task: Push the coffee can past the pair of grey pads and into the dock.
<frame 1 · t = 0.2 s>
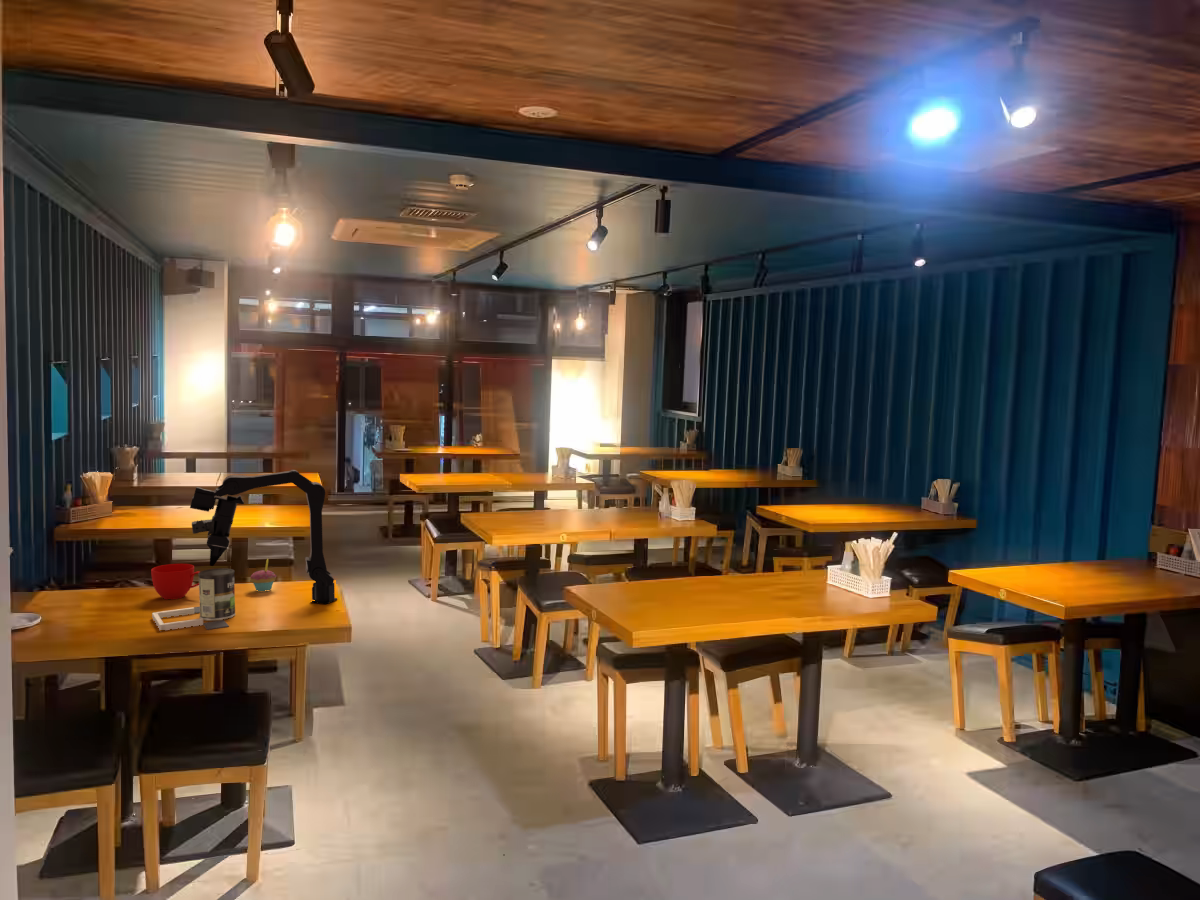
hand: (211, 562, 274), 16 cm above the table, tool pointing down, fingers open, 9 cm apart
coffee can: (217, 616, 270), on the table
cupcake: (263, 591, 302), on the table
dock: (185, 620, 265), on the table
ceramic cup: (179, 597, 292), on the table
pair of grey pads: (208, 617, 269), on the table
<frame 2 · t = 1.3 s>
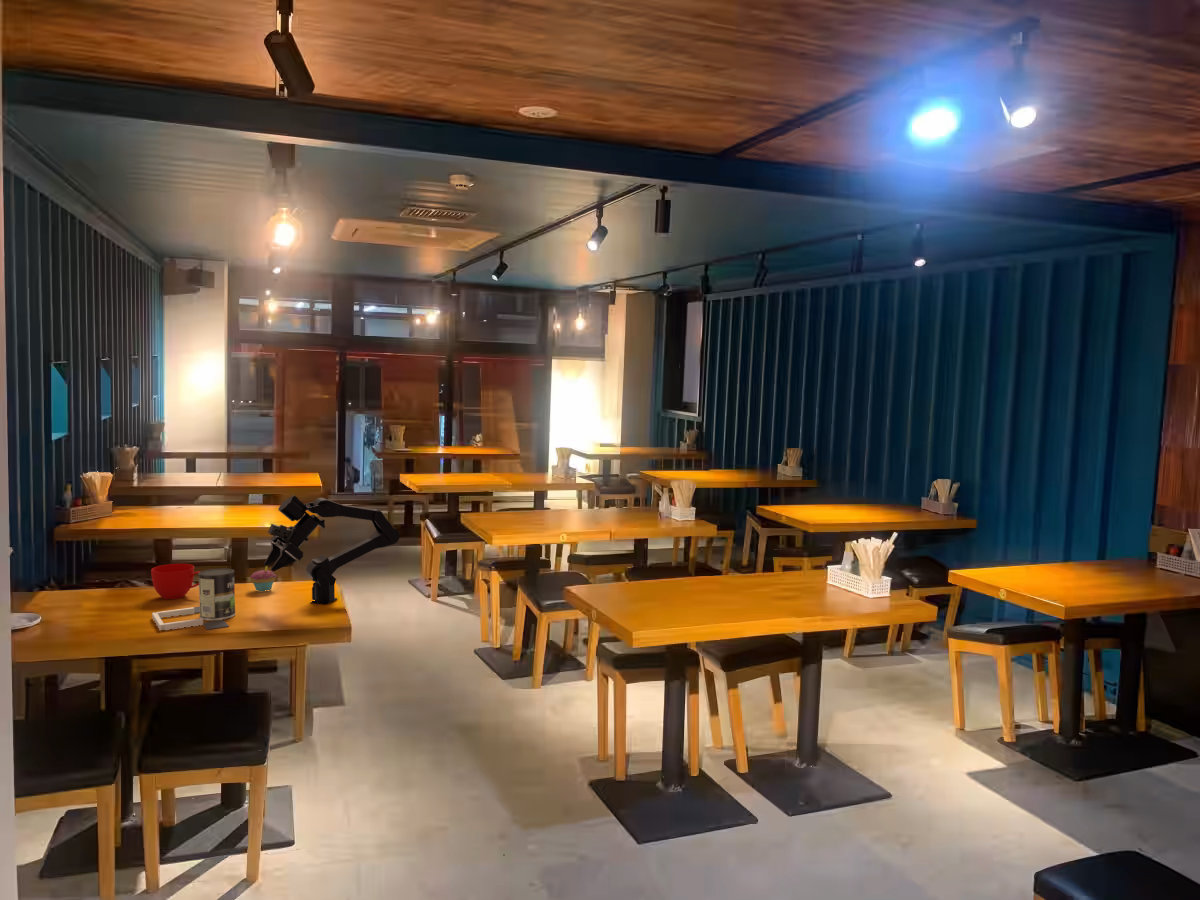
hand: (268, 568, 278), 13 cm above the table, tool tilted 45°, fingers open, 8 cm apart
nothing on the table moved.
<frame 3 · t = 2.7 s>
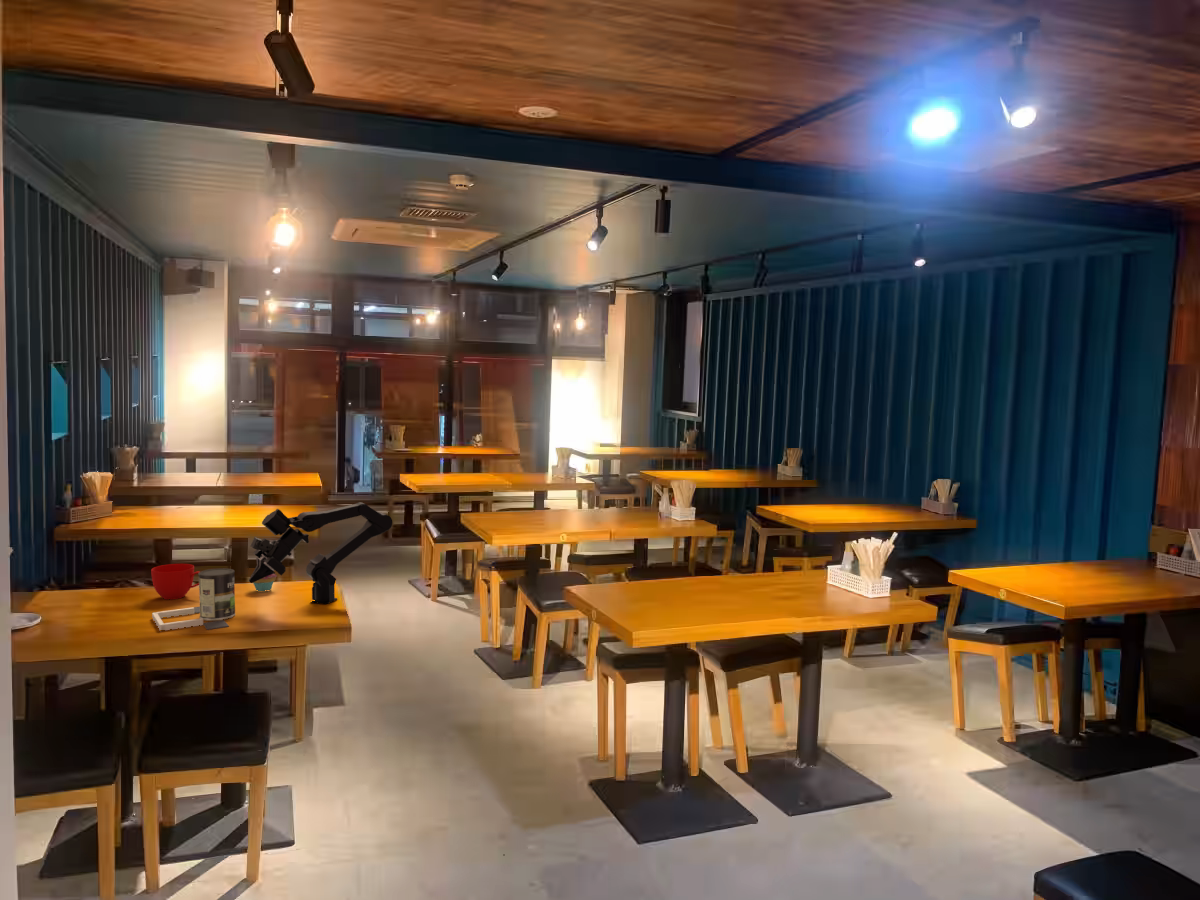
hand: (249, 581, 275), 10 cm above the table, tool tilted 45°, fingers closed
nothing on the table moved.
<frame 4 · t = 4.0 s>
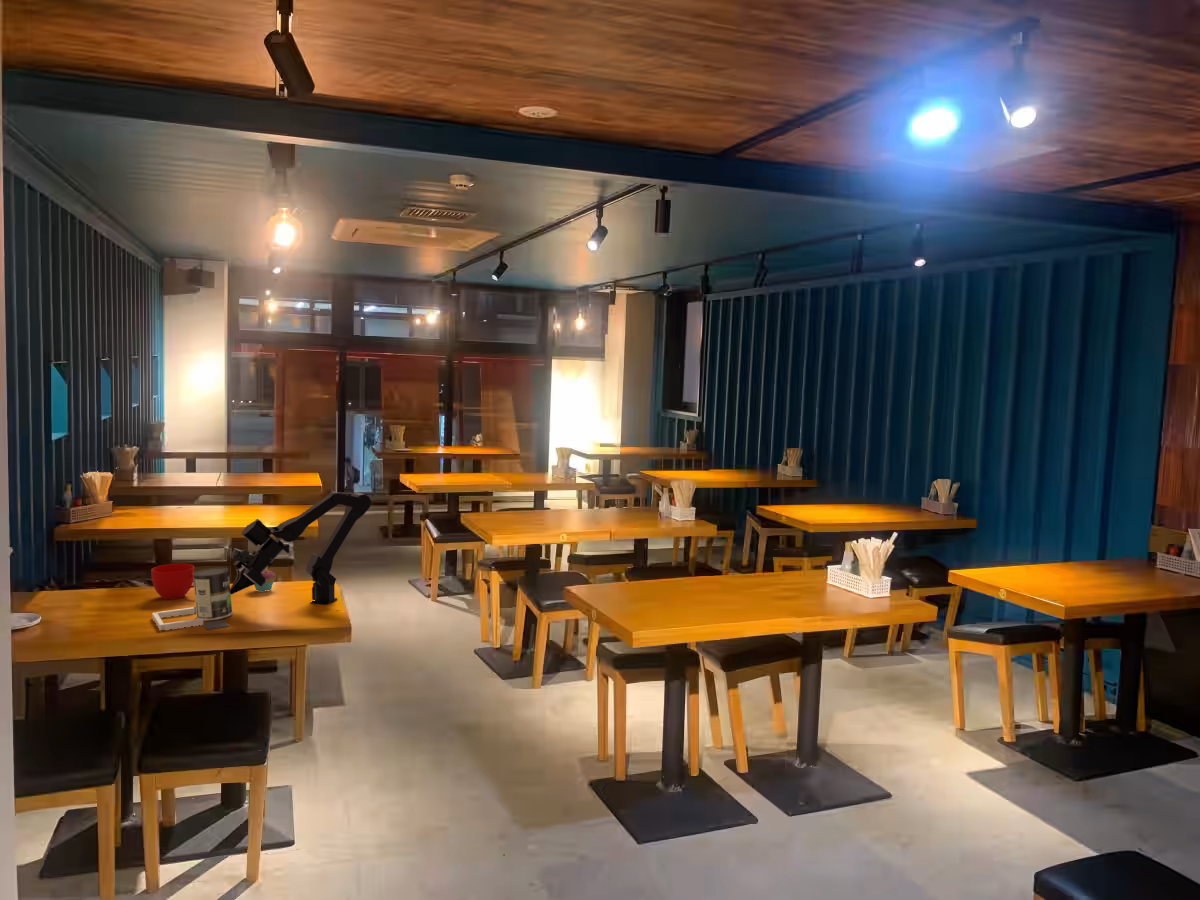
hand: (229, 593, 272), 7 cm above the table, tool tilted 45°, fingers closed, pressing on coffee can
coffee can: (214, 616, 270), on the table, touching gripper
everything else where it was.
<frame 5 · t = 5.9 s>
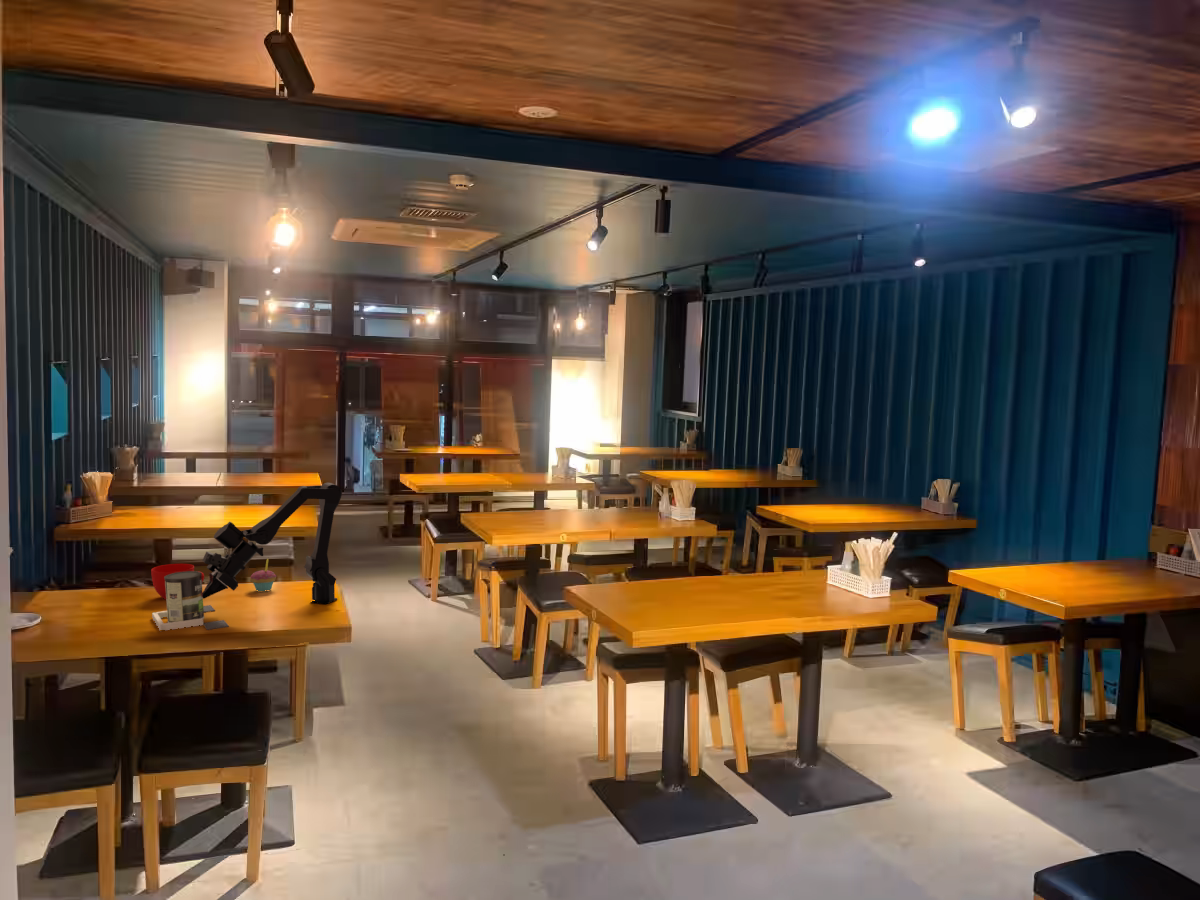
hand: (202, 597, 267), 6 cm above the table, tool tilted 45°, fingers closed, pressing on coffee can
coffee can: (186, 620, 265), on the table, touching gripper
everything else where it was.
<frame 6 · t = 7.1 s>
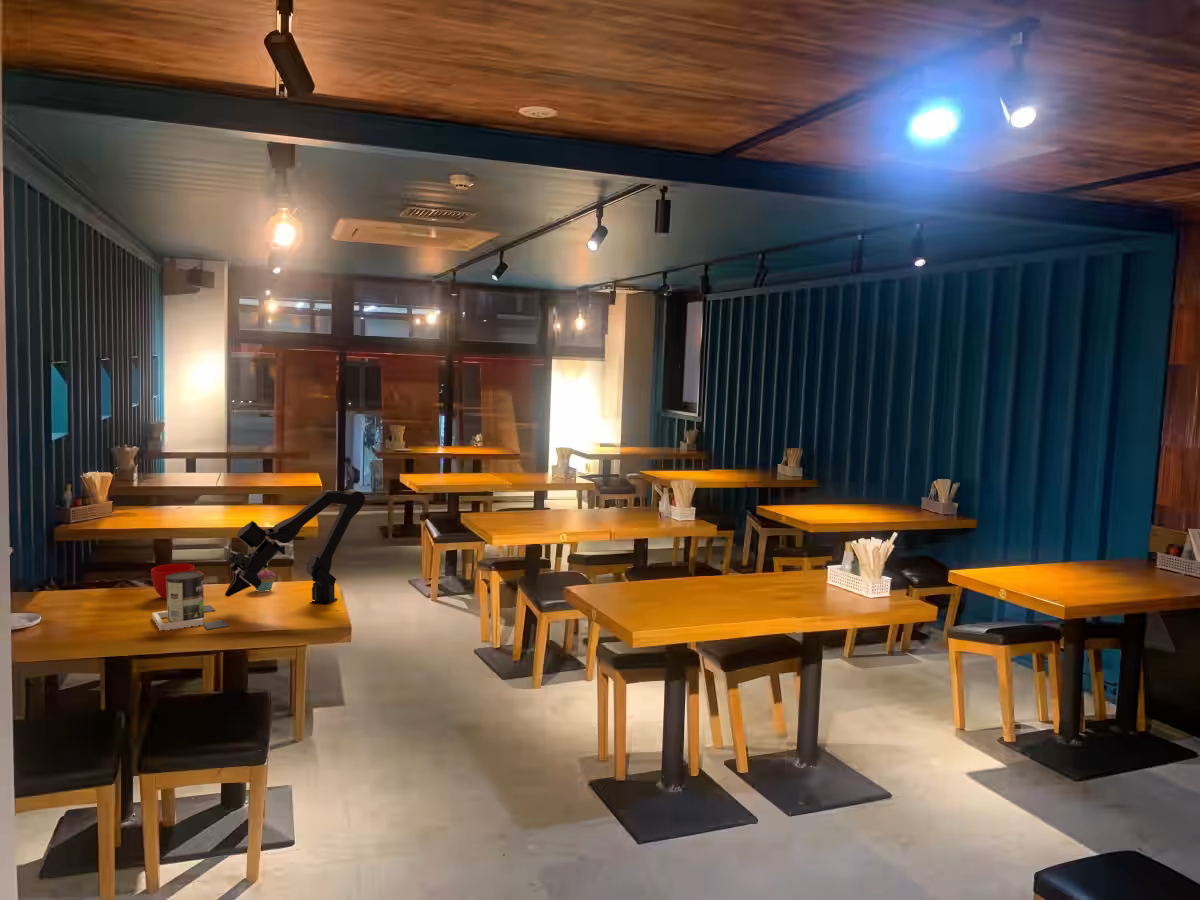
hand: (226, 595, 271), 6 cm above the table, tool tilted 45°, fingers closed
coffee can: (185, 621, 265), on the table
everything else where it was.
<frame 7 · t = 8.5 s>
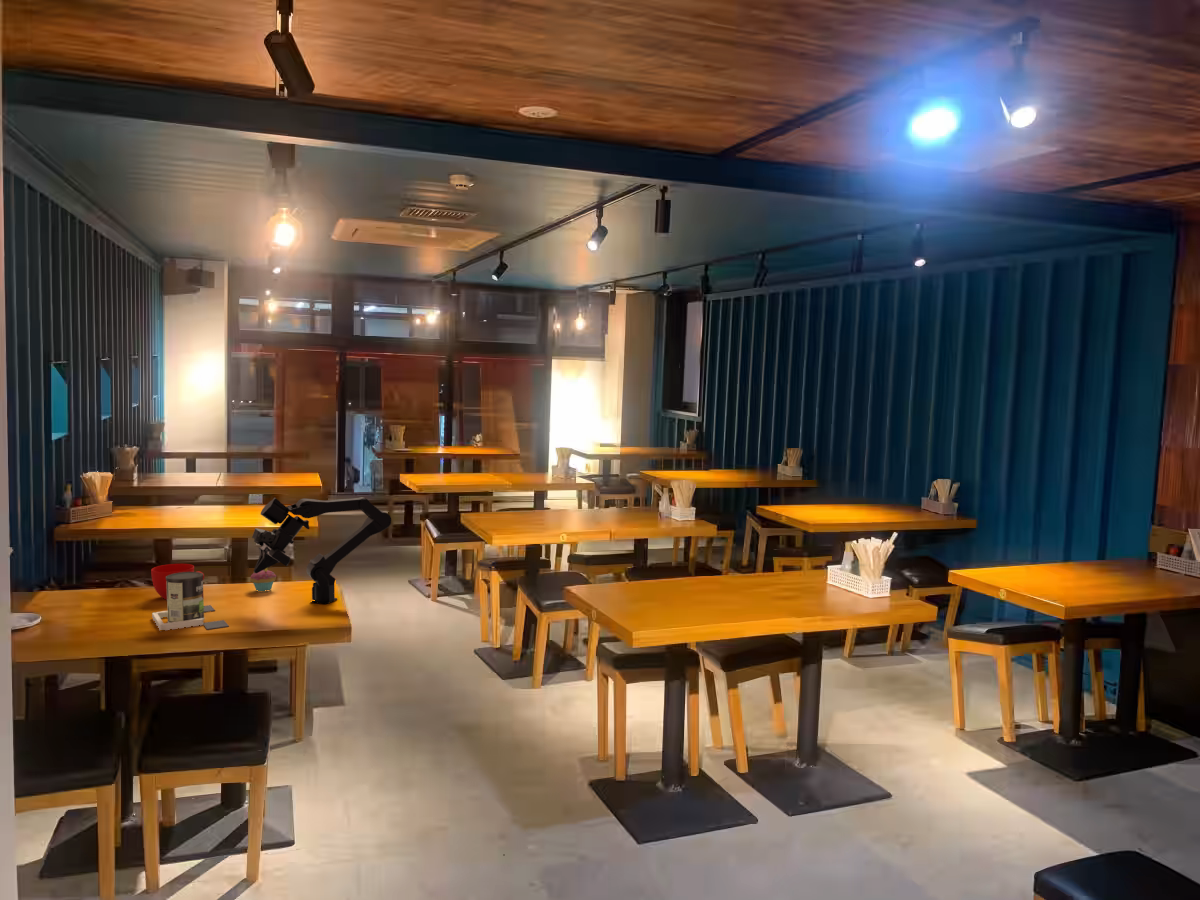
hand: (255, 572, 277), 12 cm above the table, tool tilted 40°, fingers closed
nothing on the table moved.
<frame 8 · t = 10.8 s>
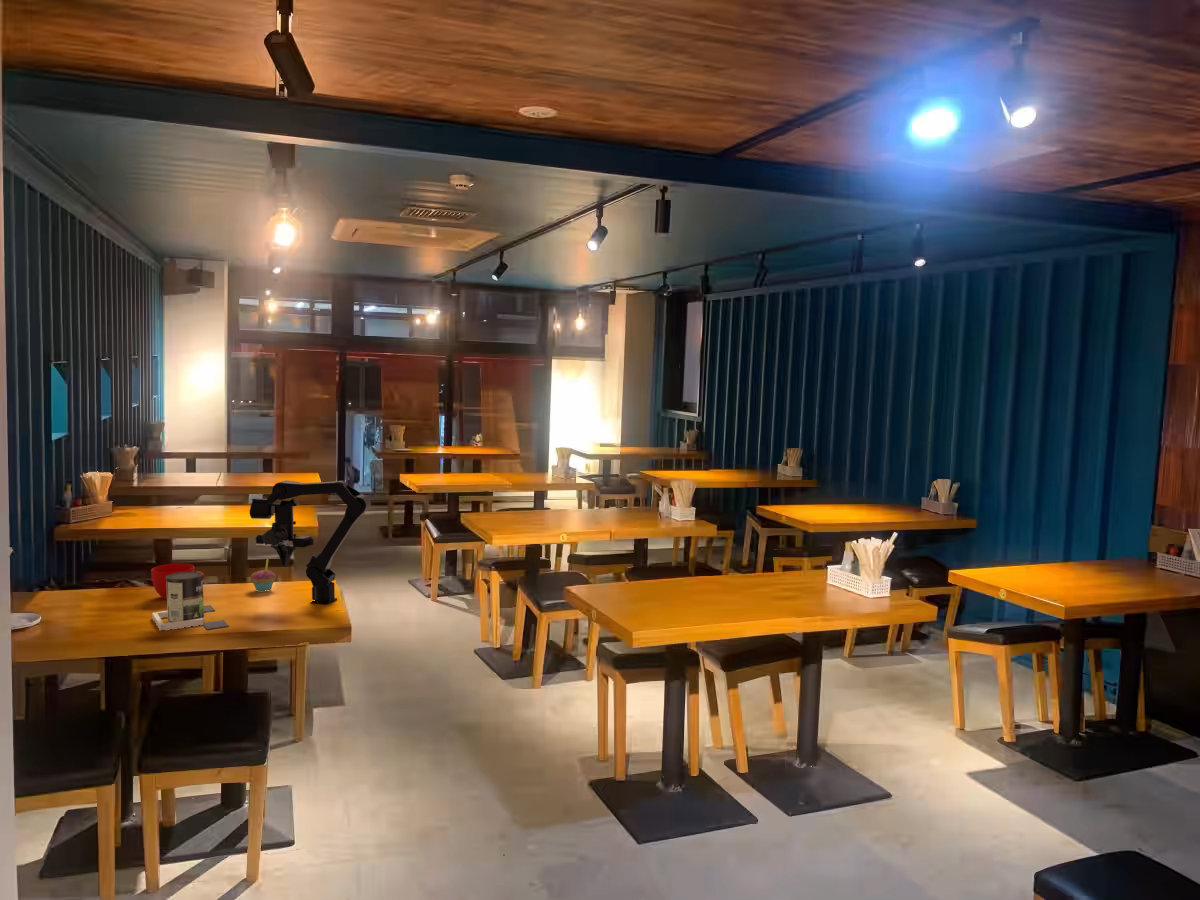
hand: (284, 565, 287), 12 cm above the table, tool pointing down, fingers closed
nothing on the table moved.
at the end: coffee can 0.0 cm from the dock (horizontally); coffee can tilted 0°; coffee can touching table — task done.
